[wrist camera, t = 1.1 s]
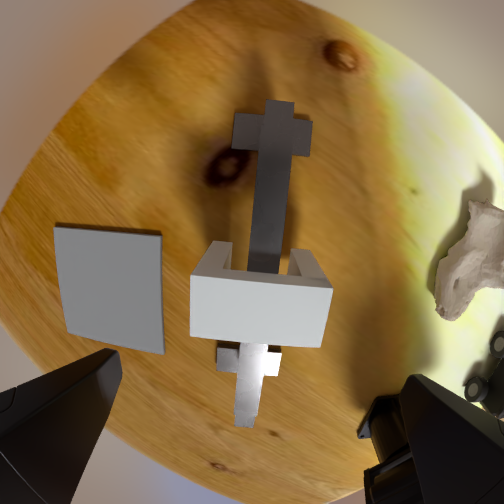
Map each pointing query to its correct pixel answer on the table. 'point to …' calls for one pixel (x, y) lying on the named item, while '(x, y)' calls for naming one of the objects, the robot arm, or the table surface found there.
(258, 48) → the table surface
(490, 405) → the toy vehicle
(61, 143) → the table surface
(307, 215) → the table surface
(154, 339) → the mat
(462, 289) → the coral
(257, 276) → the c link
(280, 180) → the stand
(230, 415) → the table surface
